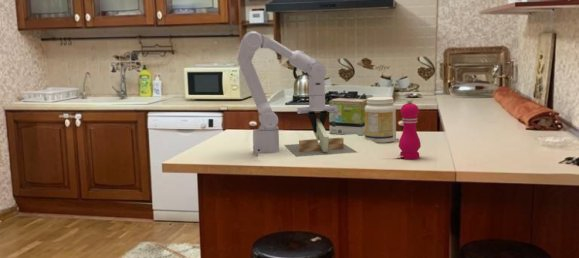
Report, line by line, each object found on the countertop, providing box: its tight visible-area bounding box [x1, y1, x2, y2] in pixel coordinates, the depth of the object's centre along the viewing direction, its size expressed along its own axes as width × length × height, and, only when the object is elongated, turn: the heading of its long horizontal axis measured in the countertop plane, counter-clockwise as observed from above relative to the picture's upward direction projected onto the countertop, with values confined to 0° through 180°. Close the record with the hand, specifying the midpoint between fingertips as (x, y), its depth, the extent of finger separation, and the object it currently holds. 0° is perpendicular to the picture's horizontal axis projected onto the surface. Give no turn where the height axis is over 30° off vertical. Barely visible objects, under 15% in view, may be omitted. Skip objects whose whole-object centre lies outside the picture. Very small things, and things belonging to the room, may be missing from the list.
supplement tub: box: [364, 96, 397, 144], centre depth 224 cm, size 12×12×17 cm
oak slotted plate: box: [298, 137, 345, 152], centre depth 204 cm, size 16×2×4 cm, turn 101°
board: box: [283, 142, 358, 158], centre depth 208 cm, size 22×23×1 cm
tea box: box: [328, 97, 368, 136], centre depth 244 cm, size 15×10×15 cm
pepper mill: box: [398, 98, 422, 161], centre depth 190 cm, size 7×7×20 cm
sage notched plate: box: [313, 118, 330, 152], centre depth 203 cm, size 14×2×6 cm, turn 11°
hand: (317, 132), depth 208 cm, fingers closed on sage notched plate, 2 cm apart
